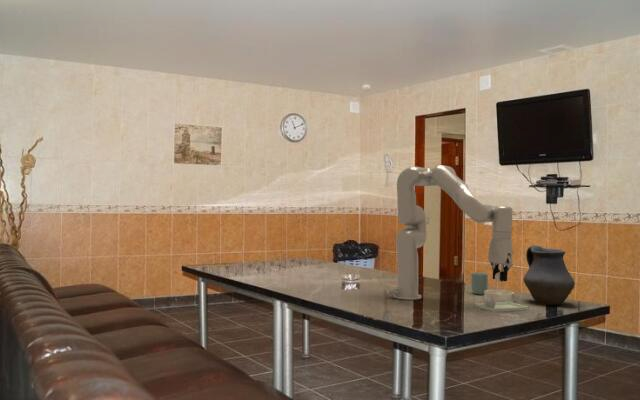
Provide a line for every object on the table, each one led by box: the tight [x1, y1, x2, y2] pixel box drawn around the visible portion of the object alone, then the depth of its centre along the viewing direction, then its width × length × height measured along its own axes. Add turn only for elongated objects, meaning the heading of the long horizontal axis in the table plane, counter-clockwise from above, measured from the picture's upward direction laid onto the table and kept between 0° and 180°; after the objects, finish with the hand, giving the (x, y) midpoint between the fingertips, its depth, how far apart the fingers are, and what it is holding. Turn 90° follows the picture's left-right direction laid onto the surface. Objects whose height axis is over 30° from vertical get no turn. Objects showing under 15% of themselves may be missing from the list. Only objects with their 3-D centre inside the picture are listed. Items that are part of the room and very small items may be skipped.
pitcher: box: [522, 244, 576, 306], centre depth 235 cm, size 21×22×25 cm
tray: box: [474, 302, 530, 313], centre depth 221 cm, size 17×12×2 cm
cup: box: [470, 271, 489, 296], centre depth 258 cm, size 8×8×10 cm
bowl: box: [483, 289, 516, 303], centre depth 236 cm, size 12×12×4 cm
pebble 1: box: [484, 299, 495, 308], centre depth 219 cm, size 4×4×4 cm
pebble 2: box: [494, 272, 503, 283], centre depth 221 cm, size 4×4×4 cm
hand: (499, 279), depth 221 cm, fingers closed on pebble 2, 4 cm apart
